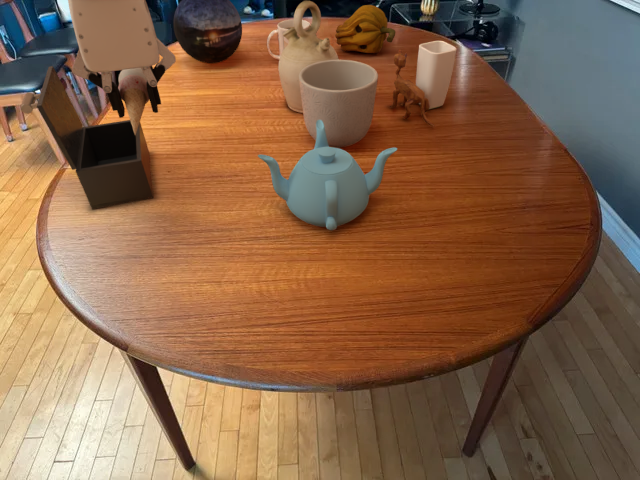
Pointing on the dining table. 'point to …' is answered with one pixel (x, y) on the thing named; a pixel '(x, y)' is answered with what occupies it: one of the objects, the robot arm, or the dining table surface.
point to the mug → (282, 40)
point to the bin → (114, 164)
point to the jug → (302, 53)
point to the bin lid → (57, 115)
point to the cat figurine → (408, 91)
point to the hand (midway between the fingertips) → (138, 110)
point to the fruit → (364, 31)
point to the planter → (338, 99)
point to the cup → (435, 71)
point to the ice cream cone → (133, 93)
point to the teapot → (327, 183)
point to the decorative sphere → (208, 29)
